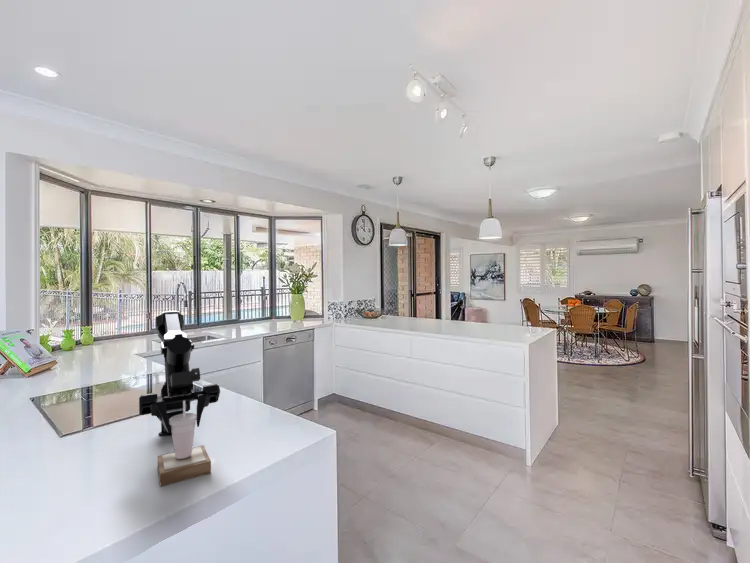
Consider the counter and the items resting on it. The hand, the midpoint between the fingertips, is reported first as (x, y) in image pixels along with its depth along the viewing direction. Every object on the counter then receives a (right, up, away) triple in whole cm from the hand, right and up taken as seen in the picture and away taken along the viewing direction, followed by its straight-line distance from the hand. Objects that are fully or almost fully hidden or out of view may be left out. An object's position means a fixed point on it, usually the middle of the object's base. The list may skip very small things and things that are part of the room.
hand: (183, 428), depth 96 cm
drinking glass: (-28, -11, +48) cm, 57 cm away
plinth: (0, -11, +1) cm, 11 cm away
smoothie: (-1, -7, +1) cm, 8 cm away
